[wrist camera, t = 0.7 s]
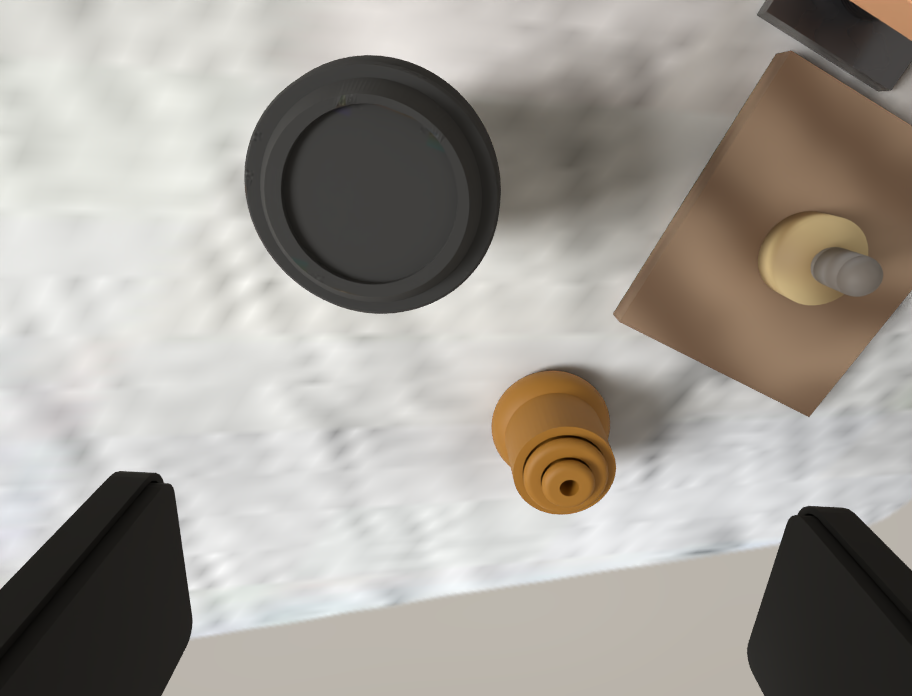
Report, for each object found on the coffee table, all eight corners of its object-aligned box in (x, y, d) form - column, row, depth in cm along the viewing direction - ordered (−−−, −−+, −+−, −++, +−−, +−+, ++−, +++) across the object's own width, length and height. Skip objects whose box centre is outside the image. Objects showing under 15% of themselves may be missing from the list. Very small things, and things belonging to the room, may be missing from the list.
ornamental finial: (527, 484, 40) (468, 402, 38) (624, 431, 39) (569, 343, 37) (544, 566, 33) (471, 471, 31) (664, 504, 32) (597, 399, 29)
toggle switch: (776, 53, 31) (870, 33, 24) (976, 178, 33) (1116, 193, 26) (612, 314, 36) (650, 360, 29) (796, 406, 38) (872, 469, 31)
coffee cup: (453, 270, 35) (450, 368, 21) (305, 218, 34) (199, 285, 20) (509, 116, 32) (550, 111, 18) (348, 53, 31) (258, -3, 17)
